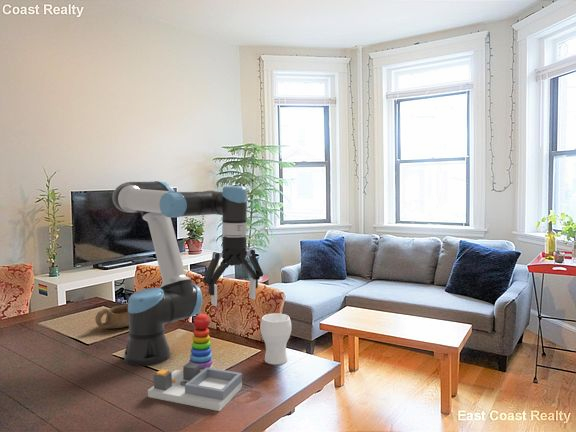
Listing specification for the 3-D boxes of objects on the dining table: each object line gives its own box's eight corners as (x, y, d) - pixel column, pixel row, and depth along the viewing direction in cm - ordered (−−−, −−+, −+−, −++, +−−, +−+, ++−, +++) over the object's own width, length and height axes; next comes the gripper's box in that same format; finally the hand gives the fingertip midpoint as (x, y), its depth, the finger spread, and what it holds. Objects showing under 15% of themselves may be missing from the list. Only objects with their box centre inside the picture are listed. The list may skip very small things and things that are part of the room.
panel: (148, 396, 125) (147, 388, 125) (175, 376, 138) (175, 368, 138) (219, 411, 117) (219, 402, 117) (242, 387, 130) (241, 379, 130)
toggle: (183, 379, 131) (183, 366, 131) (188, 375, 134) (188, 362, 134) (195, 381, 130) (194, 368, 130) (200, 377, 133) (200, 364, 132)
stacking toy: (201, 378, 136) (200, 320, 135) (183, 372, 141) (182, 315, 139) (218, 369, 143) (217, 313, 141) (200, 363, 147) (199, 309, 146)
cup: (287, 368, 144) (288, 323, 143) (256, 365, 146) (256, 321, 145) (293, 355, 154) (294, 313, 153) (264, 352, 157) (264, 311, 155)
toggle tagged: (154, 388, 126) (153, 372, 125) (160, 383, 129) (159, 368, 128) (165, 390, 124) (165, 374, 124) (171, 385, 127) (171, 370, 127)
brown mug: (114, 333, 171) (108, 309, 172) (92, 337, 178) (86, 313, 178) (149, 320, 187) (143, 297, 187) (127, 324, 194) (122, 302, 194)
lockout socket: (185, 393, 123) (184, 384, 123) (206, 375, 134) (206, 367, 134) (223, 400, 119) (223, 391, 119) (241, 381, 130) (241, 373, 130)
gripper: (201, 240, 127) (201, 311, 129) (274, 234, 141) (273, 298, 143) (192, 236, 133) (192, 304, 135) (262, 231, 147) (261, 293, 149)
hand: (233, 301), depth 139 cm, fingers open, 13 cm apart
